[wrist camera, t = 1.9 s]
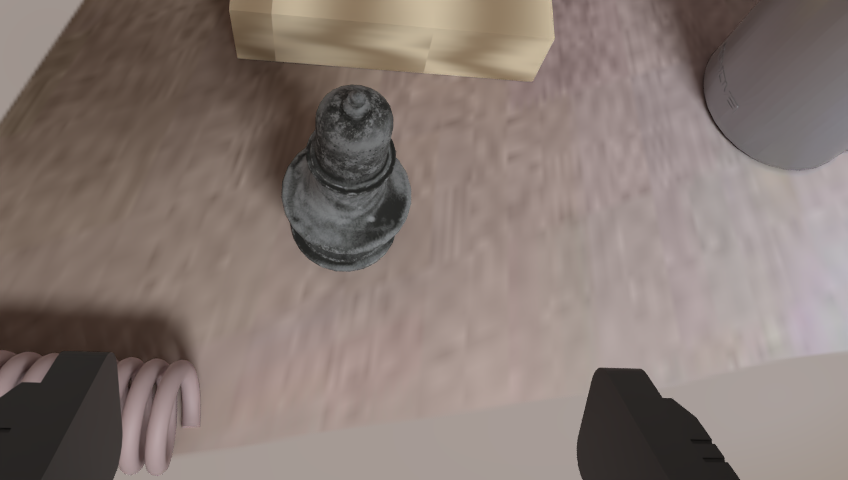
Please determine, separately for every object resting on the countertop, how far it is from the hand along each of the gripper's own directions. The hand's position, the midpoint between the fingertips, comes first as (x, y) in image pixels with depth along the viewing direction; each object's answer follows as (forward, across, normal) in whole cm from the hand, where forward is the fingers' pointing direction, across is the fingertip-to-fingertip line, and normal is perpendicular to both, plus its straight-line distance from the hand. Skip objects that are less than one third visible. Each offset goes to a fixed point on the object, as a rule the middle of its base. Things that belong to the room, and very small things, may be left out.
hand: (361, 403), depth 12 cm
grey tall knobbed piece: (+23, 0, +7) cm, 24 cm away
